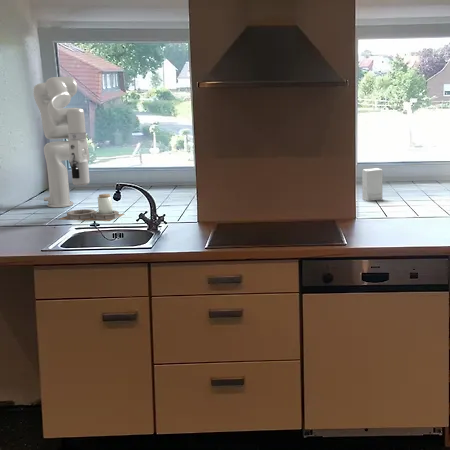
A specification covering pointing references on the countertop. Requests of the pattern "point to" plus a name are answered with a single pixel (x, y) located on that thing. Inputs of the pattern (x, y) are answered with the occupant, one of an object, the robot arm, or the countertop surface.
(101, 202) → the jar
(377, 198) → the skincare box
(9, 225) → the countertop surface
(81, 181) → the can
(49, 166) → the robot arm
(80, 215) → the stand
